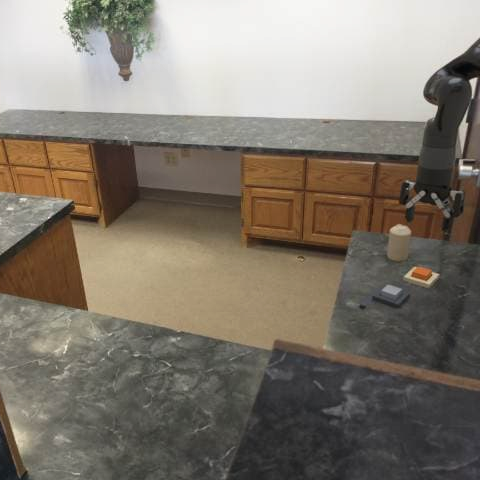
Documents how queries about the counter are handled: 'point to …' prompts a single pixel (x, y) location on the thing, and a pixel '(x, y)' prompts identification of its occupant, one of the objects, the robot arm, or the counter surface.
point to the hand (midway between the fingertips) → (427, 225)
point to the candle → (399, 243)
